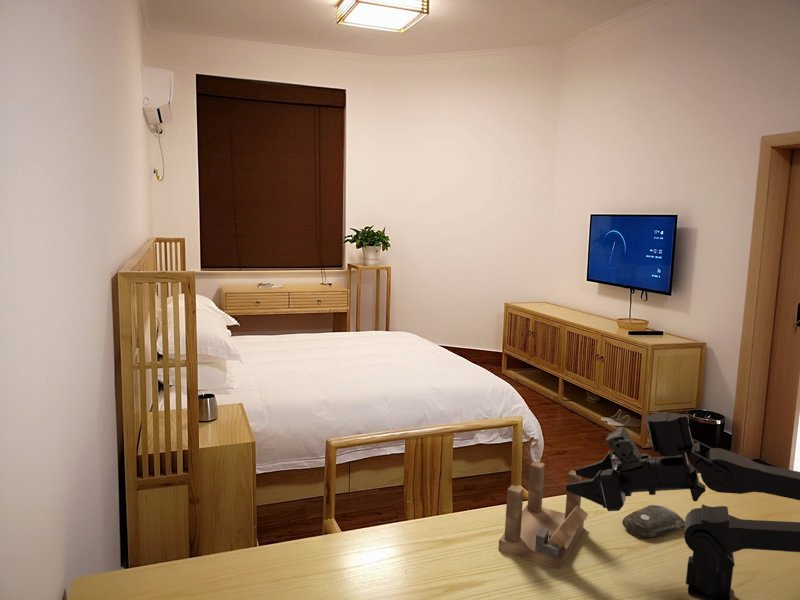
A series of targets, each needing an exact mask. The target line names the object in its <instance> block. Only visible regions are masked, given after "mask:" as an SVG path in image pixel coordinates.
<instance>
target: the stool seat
mask: <svg viewBox="0 0 800 600" xmlns="http://www.w3.org/2000/svg"><path fill="white" fill-rule="evenodd" d="M545 466H546V465H545V463H544V462H540V461H535V460H533V462H531V463H530V465H529V479H528V495H527V504H526V506H525V507H524V508H523V502H524V501H523V500H524V489H525V488H524V487H522V486H518V485H515V484H514V485H513V484H511V485H510V486H509V487H508V488H507V489H506V491H507V493H506V504H505V505H506V507H505V508H506V509H505V524H504V525H505V526H504V532H503V534H502V536H500V538H499V540H498V549H497V550H498V551H502V552H504V553H507V554H510V555H513V556H518V557H520V558H523V559H526V560H530V561H533V562H536V563H538V564H542V565H545V566H548V567H551V568H554V569H557V570H561V569H562V567H563V565H564V564H565V562H566V560H567V558H568V557H569V555H570V553H571V551H572V549H573V547H574V545H575V543H576V542H577V541H578V538H579V536H580V535H581V533H582V531H583V529H584V526H585V521H584V522H583V523H582V524H581V525H580V527H579V528H578V529H577V530H576V531H575V532H574V534H573V535H572V536H571V537H570V538H569V539H568V541H567V542H566V543H565V544H564V545H563V547H562V548H561V549H560V550H559V547H557V546H554V545H550V544H547V542H548V540H549V539H550V537H551V536H552V535H553V534H554V532H555V531H556V530H557V529H558V528H559V526H560V525H561V524H562V523H563V522H564V520H565V519H566V518H567V517H568V516H569V514H570V513H571V512H572V511H573V510H574V508H575V507H576V506H577V505H578V506H579V507H580V508H581V503H582V502H581V500H582V497H581V496H578V495H576V494H573V493H570V492H568V491H567V490H566V496H565V497H566V498H565V499H566V500H565V501H566V502H565V513H564V512H560V511H557V510H553V509H549V508H547V507H543V495H544V479H545V477H544V476H545ZM575 471H576V470H573V469H571V470H570V471H569V472H568V474H567V484H571V483H575V482H580V481H583V478H584V477H580V476H577V475H576V472H575Z"/></svg>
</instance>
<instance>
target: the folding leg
mask: <svg viewBox="0 0 800 600" xmlns="http://www.w3.org/2000/svg"><path fill="white" fill-rule="evenodd" d="M588 515H589V513H588V512H586V511H585V510H584V509H583V508H581V506H580V507H579V506H578V505H577V506H576V507H575V508H574V510H573V511H572V512H571V513H570V514H569V516H568V517H567V518H566V519H565V520H564V522H563V523H562V524H561V525H560V526H559V528H558V529H557V530H556V531H555V532H554V534H553V535H552V536H551V537H550V539H549V540H548V542H547V544H550V545H554V546H557V547H559V550H560V549H561V548H562V547H563V545H564V544H565V543H566V542H567V541H568V539H569V538H570V537H571V536H572V535H573V534H574V532H575V531H576V530H577V529H578V528H579V527H580V525H581V524H582V523H583V522H584V523H585V521H586V519H587V518H588Z"/></svg>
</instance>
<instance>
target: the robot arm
mask: <svg viewBox="0 0 800 600" xmlns="http://www.w3.org/2000/svg"><path fill="white" fill-rule="evenodd" d="M645 422H646V425H647V429H648V433H649V438H650V442H651V446H652V450H653V451H654V452H657V453H658V455H659V456H658V457H652V456H651V455H650V454H649V453H641V452H640V450H639V448H638V446H637V445H636V443H635V442H634V440H633V439H632V437H631V435H630V434H629V432H628V431H627V429H626V428H625V427H624V426H623V427H621V428H619V429H617V430H615V431H613V432H611V433H609V434H608V435H607V437H606V438H605V439H606V443H607V445H608V446H609V448H611V449H612V450H611V449H610V450H609V451H608V452H607V454H606V455H605V457H604V458H603V459H602V460H600V461H597V462H593V463H591V464H589V465H586V466H582V467H579V468H576V469H575V470H574V471H575V472H576V475H577V476H580V477H583V478H585V480H582V481H580V482H575V483H571V484H568V483H567V484H566V486H565V490H566V492H567V491H568V492H570V493H573V494H576V495H578V496H581V498H584V499H586V500H589V501H590V502H593V503H595V504H597V505H600V506H602V508H604V509H606V510H607V511H608V512H618V511H619V512H620V510H622V508H623V506H624V504H625V502H626V498H627V497H631V496H632V494H633V493H646V492H648V494H649V496H656V494H657V492H665V491H681V490H689V491H690V494H691V495H690V496H691V498H692V501H693V502H695V503H696V502H698V500H699V498H700V497H701V496H702V495H703V493H705V492H706V490H707V489H706V487H707V488H708V489H709V490H711V491H713V492H716V493H721V494H734V495H735V494H736V495H738V494H739V495H743V494H749V493H751V494H752V493H760V494H761V493H763V494H768V495H772V496H775V497H776V496H777V497H778V496H779V497H782V498H787V499H791V500H796V501H800V471H798V470H797V471H796V470H791V469H786V468H781V467H776V466H771V465H767V464H762V463H759V462H756V461H754V460H752V459H749V458H748V457H746V456H743V455H742V454H738V453H736V452H733V451H730V450H727V449H724V448H719V447H710V446H708V445H706V444H704V443H702V442H701V441H698V440H696V439H694V438H692V433H691V429H690V419H689V415H688V414H687V413H678V412H668V411H662V412H656V413H652V414H650V415H648V416H646V417H645ZM688 457H689V459H688ZM689 460H690V461H689ZM699 474H700V477H701V480H702V482H703V483H704V484H703V483H702V482H701V481H700V478H699ZM684 521H685V528H684V535H683V536H684V538H683V539H684V542H685V544H686V545H687V547H688V549H690V550H691V551H692V555H690V556H688V560H687V567H686V577H685V578H686V579H685V585H687V593H688V595H691V596H695V597H698V598H701V599H705V600H731V598H732V597H731V596H732V594H731V593H732V582H733V573H734V567H735V557H734V553H736V552H740V551H742V550H756V551H757V550H758V551H759V550H760V551H770V552H771V551H775V552H788V553H800V521H782V520H779V521H778V520H764V519H763V520H762V519H761V520H758V519H743V518H739V517H736V516H733V515H730V514H729V507H728V506H725V505H720V506H710V505H706V504H701V507H697V508H693V509H691V510H690V511H689V512H688V513H687V514H686V516H685V518H684Z"/></svg>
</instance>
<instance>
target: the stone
mask: <svg viewBox="0 0 800 600" xmlns="http://www.w3.org/2000/svg"><path fill="white" fill-rule="evenodd" d="M621 521H622V525H623V527H624V529H626V530H627V531H628V532H629V533H630V534H632V535H633V536H636V537H638V538H641V539H643V538H645V539H647V538H651V537H656V536H659V535H663V534H666V533H670V532H674V531H679V530H681V529H682V530H683V529H685V519H683V517H681V515H679V514H678V513H677V512H675V511H673V510H672V509H671V508H668V507H666V506H663V505H657V504H656V505H655V504H649V505H647V506H644V507H643V508H640V509H637V510H635V511H633V512H632V513H629V514H627V515H626V516H625V517H624V518H623V519H622V520H621Z"/></svg>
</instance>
